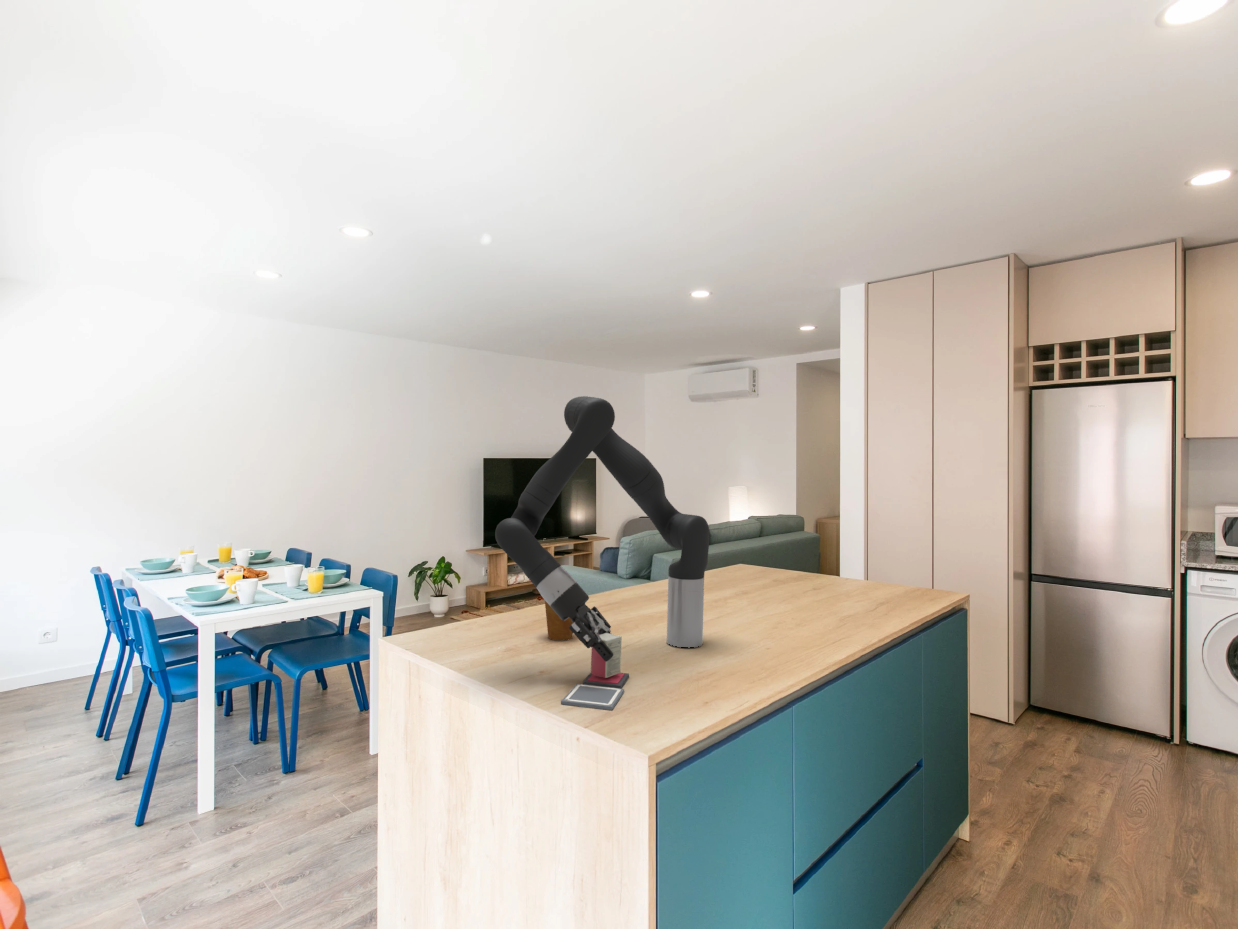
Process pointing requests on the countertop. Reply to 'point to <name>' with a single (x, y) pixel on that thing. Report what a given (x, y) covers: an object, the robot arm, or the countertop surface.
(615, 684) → the ink pad
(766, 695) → the countertop surface
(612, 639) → the small box
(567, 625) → the disposable coffee cup
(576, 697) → the board
